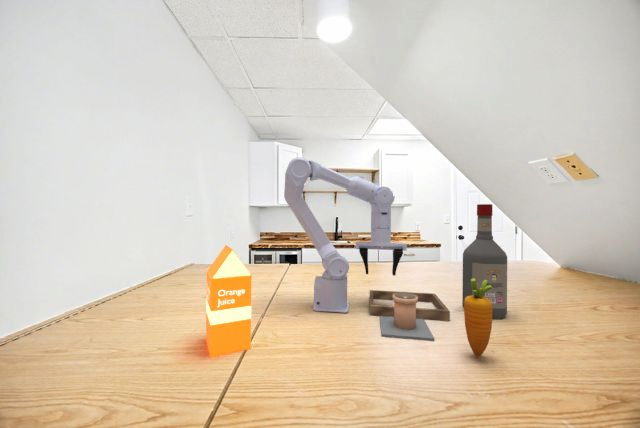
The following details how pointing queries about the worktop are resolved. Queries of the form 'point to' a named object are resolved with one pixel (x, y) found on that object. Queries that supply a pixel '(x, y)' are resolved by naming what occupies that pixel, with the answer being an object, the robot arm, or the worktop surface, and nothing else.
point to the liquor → (486, 264)
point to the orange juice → (228, 305)
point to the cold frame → (421, 313)
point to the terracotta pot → (405, 310)
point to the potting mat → (392, 331)
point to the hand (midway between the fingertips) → (380, 274)
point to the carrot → (478, 318)
